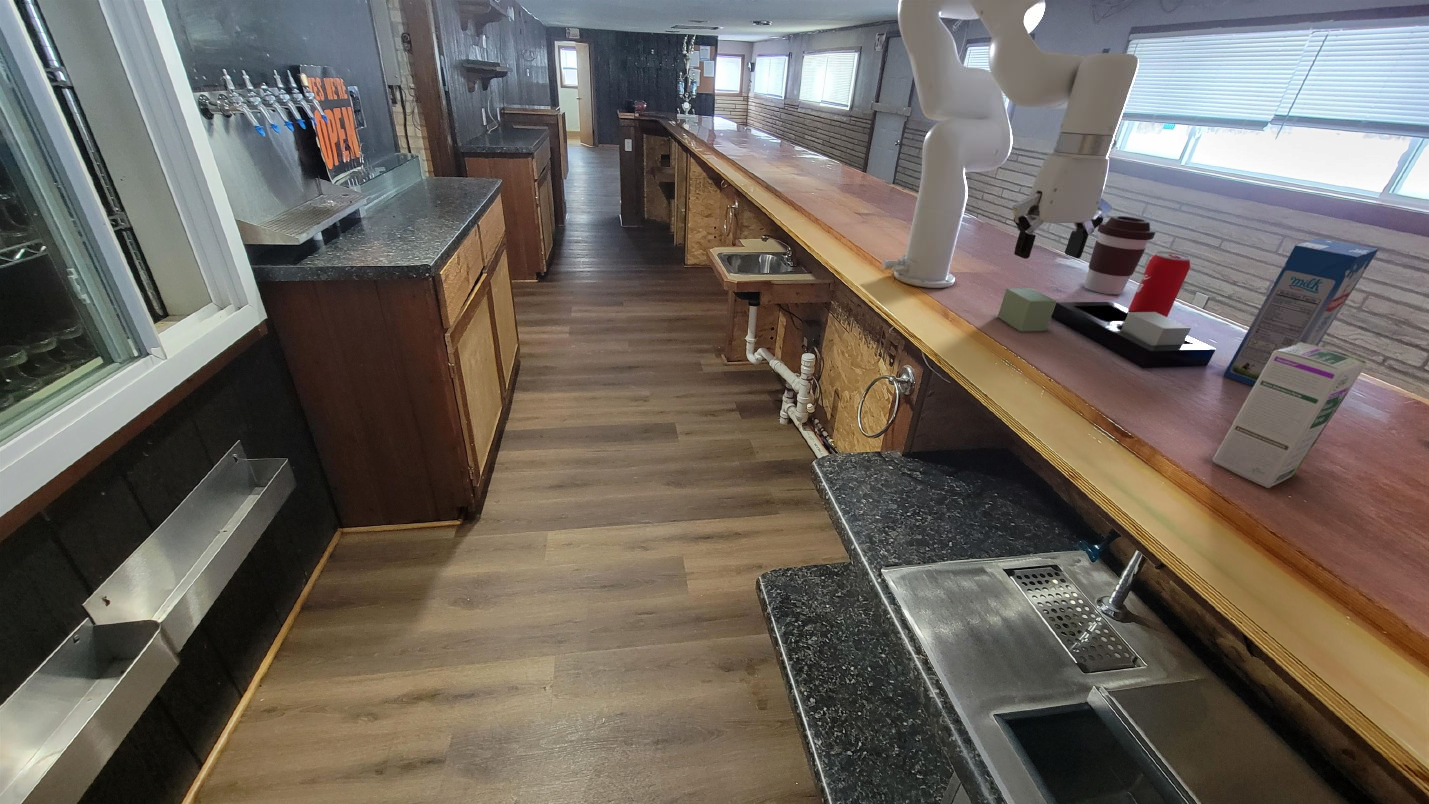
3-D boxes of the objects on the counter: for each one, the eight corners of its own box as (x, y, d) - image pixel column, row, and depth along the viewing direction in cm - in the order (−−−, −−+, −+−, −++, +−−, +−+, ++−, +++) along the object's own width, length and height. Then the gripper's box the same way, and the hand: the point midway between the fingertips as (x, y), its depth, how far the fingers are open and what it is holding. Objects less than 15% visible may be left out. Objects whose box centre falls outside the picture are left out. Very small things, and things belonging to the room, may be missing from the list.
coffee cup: (1133, 290, 123) (1163, 220, 116) (1123, 300, 117) (1155, 227, 109) (1083, 279, 129) (1108, 212, 121) (1071, 288, 122) (1097, 217, 115)
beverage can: (1153, 312, 111) (1181, 251, 105) (1172, 324, 105) (1202, 260, 100) (1120, 310, 111) (1146, 249, 105) (1137, 321, 106) (1165, 258, 100)
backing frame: (1142, 368, 88) (1150, 351, 86) (1050, 317, 106) (1056, 302, 105) (1207, 366, 89) (1216, 348, 88) (1105, 316, 108) (1111, 301, 106)
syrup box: (1269, 490, 61) (1349, 371, 54) (1208, 460, 66) (1274, 347, 58) (1293, 476, 64) (1373, 361, 56) (1232, 449, 68) (1299, 339, 61)
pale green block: (1020, 331, 99) (1030, 301, 96) (997, 317, 105) (1006, 288, 102) (1045, 331, 100) (1056, 300, 97) (1021, 316, 106) (1031, 287, 103)
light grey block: (1148, 361, 90) (1163, 328, 87) (1115, 343, 96) (1128, 312, 93) (1175, 360, 91) (1191, 327, 88) (1140, 342, 97) (1154, 311, 94)
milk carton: (1273, 393, 82) (1357, 256, 72) (1222, 375, 86) (1295, 245, 76) (1297, 378, 87) (1379, 248, 77) (1248, 362, 91) (1319, 238, 81)
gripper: (1112, 146, 92) (1076, 250, 100) (1017, 143, 89) (987, 251, 98) (1150, 150, 86) (1108, 262, 94) (1048, 147, 83) (1014, 263, 91)
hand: (1046, 256), depth 96 cm, fingers open, 9 cm apart
